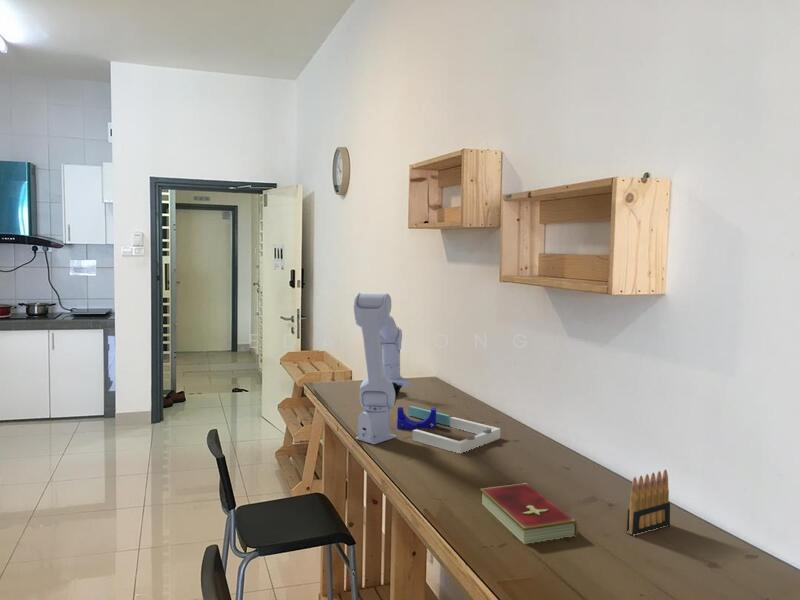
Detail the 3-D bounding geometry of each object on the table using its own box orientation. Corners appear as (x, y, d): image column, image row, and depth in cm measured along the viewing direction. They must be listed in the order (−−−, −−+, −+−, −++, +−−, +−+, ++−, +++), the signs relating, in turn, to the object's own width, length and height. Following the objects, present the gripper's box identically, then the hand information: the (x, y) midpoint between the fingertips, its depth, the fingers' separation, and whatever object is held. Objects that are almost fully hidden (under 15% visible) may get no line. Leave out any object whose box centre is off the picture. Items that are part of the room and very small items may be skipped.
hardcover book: (527, 499, 152) (527, 481, 151) (577, 539, 132) (577, 519, 131) (479, 505, 148) (480, 487, 148) (523, 547, 128) (523, 527, 128)
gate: (408, 415, 219) (408, 406, 218) (410, 414, 220) (410, 405, 219) (447, 425, 207) (447, 416, 207) (450, 424, 208) (450, 415, 208)
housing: (461, 454, 181) (461, 441, 180) (412, 440, 194) (412, 427, 193) (501, 438, 195) (501, 426, 194) (453, 426, 207) (453, 414, 207)
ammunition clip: (633, 536, 132) (635, 479, 131) (626, 533, 133) (628, 476, 132) (670, 525, 137) (672, 470, 136) (662, 522, 138) (665, 467, 137)
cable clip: (397, 429, 205) (397, 410, 204) (398, 425, 209) (398, 407, 208) (435, 430, 204) (435, 411, 203) (436, 426, 208) (436, 407, 207)
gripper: (416, 365, 209) (416, 406, 210) (384, 359, 219) (384, 398, 220) (400, 368, 204) (401, 411, 205) (368, 362, 214) (369, 402, 215)
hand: (391, 405), depth 212 cm, fingers closed
